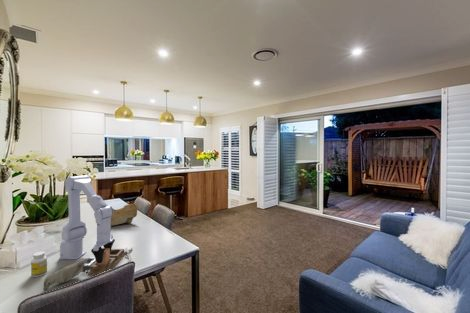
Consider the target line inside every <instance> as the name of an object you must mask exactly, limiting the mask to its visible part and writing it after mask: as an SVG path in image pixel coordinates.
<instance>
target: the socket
mask: <svg viewBox="0 0 470 313" xmlns="http://www.w3.org/2000/svg"><path fill="white" fill-rule="evenodd" d="M86 258H88V261H86V262H85V263H86V264H85V263H84V266H83V269H82V270H84V269H87V270H90V266H91V265H92V264H94V263H95V262H96V259H95V256H94V257H93V256H91V257H89V256H88V257H87V256H86V257H82V256H81V257H80V259H78V260H77V261H76V262H75V263H77V262H79V261H81V260H83V259H86ZM87 262H89V263H87ZM85 267H86V268H85Z"/></svg>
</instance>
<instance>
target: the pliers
mask: <svg viewBox="0 0 470 313" xmlns="http://www.w3.org/2000/svg"><path fill="white" fill-rule="evenodd" d="M132 251H133V247H130V248H129V249H128V247H125V248H124V252H125V255H124V258H126V259H128V260H127V263H128V262H129V263H130V262H131V261H132V255H131V254H130V253H131V252H132Z"/></svg>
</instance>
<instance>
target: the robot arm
mask: <svg viewBox="0 0 470 313" xmlns="http://www.w3.org/2000/svg"><path fill="white" fill-rule="evenodd" d="M64 183H65V184H64V189H65V192H67V198H68V199H67V202H68V203H67V204H68V205H67V207H68V223H66V224H65V225H64V226H63V227H62V232H61V239H62V241H61V243H60V245H59V257H58V260H79V258H80V259H81V258H82V256H83V255H85V254H86V253H87V250H83V245H84V244H83V241H84V240H83V239H84V238H85V236H86V235H87V232H88V231H87V230H88V229H87V227H86V222H84V221H82V220H81V197H80V196H81V192H82V193H83V194H84V195H85V196H86V197H87V198H88V204H89V206H90V207H91V209H92V210H93V215H94V216H93V217H94V219H95V224H96V240H95V244H94V246H93V247H92V249H91V250H90V251H91V254H92V255H93V256H94V257H95V259H96V262H97V263H102V260H103V254H104V251H105V249H102V248H110V252H111V249H113V245H114V243H115V241H116V239H114V238H113V237H114V234H111V227H112V226H111V217H112V216H113V209H114V208H113V207H112V206H113V205H110V204H107V203H106V202H105V201H104V199H103V197H102V196H101V195H98V194H97V193H96V191H95V189H94V188H93V186H92V179H91V177H90V176H89V174H85V175H76V176H67V178H66V179H65V180H64Z"/></svg>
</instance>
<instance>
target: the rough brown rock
mask: <svg viewBox="0 0 470 313" xmlns="http://www.w3.org/2000/svg"><path fill="white" fill-rule="evenodd" d="M137 215H138V206H137V204H136V203H131V204H130V203H129V204H125V205H124V206H123V207H121V208H120V209H119V208H118V209H115V208H113V216H112V217H111V227H113V226H117V225H123V224H131V223H132V222H133V220H134V219H135V218H136V217H137Z"/></svg>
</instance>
